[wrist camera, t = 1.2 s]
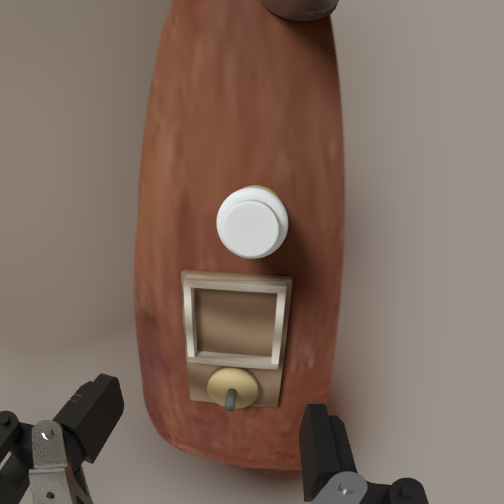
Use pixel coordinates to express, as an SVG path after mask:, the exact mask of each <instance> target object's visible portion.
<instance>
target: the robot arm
mask: <svg viewBox="0 0 504 504" xmlns="http://www.w3.org/2000/svg"><path fill="white" fill-rule="evenodd" d="M338 1H339V0H261V2H262V4H263V5H264V6H265V7H266V8H267V9H268V10H269V11H271V12H272V13H274V14H276V15H278V16H280V17H283V18H285V19H289V20H294V21H303V22H305V21H315V20H320V19H322V18H325V17H327V16H328V15H330V14H331V13H332V12H333V11H334V10H335V8H336V6H337V3H338ZM123 410H124V401H123V397H122V394H121V389H120V384H119V380H118V378H116V377H113V376H109V375H106V374H100V375H99V376H98V377H97V378H96V379H95V380H94V382H92V381H89V382H88V383H86V384H84V385H82V386H81V387H80V388H79V389H78V390H77V391H76V393H75V395H73V396H72V397H71V398H70V400H69V401H68V402H67V403H66V404H65V405H64V407H63V408H62V409H61V410H60V411H59V413H58V414H57V415H56V417H54V419H53V420H42V421H39V422H37V423H36V424H35V425H30V424H26V423H21V422H19V420H18V418H17V416H16V415H15V414H14V413H13V412H10V411H2V412H0V463H1V462H2V460H3V459H4V458H5V456H6V455H7V453H8V452H10V453H11V456H10V457H9V459H8V460H7V461H6V463H5V464H4V466H3V467H2V468H1V470H0V504H19V503H20V501H21V499H22V497H23V496H24V494H25V492H26V490H27V488H28V487H29V485H30V487H31V494H32V500H33V504H94V503H93V501H92V499H91V496H90V493H89V490H88V486H87V483H86V479H85V476H84V472H83V468H82V466H81V464H82V463H83V461H87V462H89V463H92V464H93V463H94V461H95V460H96V458H97V456H98V454H99V452H100V451H101V449H102V448H103V446H104V444H105V442H106V441H107V439H108V437H109V436H110V434H111V432H112V430H113V429H114V427H115V426H116V424H117V422H118V420H119V419H120V417H121V416H122V413H123ZM346 434H347V433H346V429H345V425H344V423H343V422H342V421H341V420H340V419H339V417H338V416H328V412H327V407H326V405H325V404H307V405H306V408H305V412H304V416H303V419H302V423H301V427H300V433H299V444H300V455H301V466H302V478H303V490H304V501H305V502H311V501H312V502H311V503H310V504H429V503H428V500H427V497H426V494H425V491H424V488H423V486H422V484H421V483H420V482H418V481H417V480H415V479H412V478H401V479H399V480H397V481H395V482H394V483H393V484H392V485H385V484H375V483H370V482H368V481H366V480H365V479H364V478H363V477H362V476H361V475H359V474H358V472H357V470H356V467H355V463H354V459H353V455H352V452H351V448H350V444H349V440H348V437H347V435H346Z"/></svg>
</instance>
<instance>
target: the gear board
mask: <svg viewBox="0 0 504 504" xmlns="http://www.w3.org/2000/svg"><path fill="white" fill-rule="evenodd" d="M291 289H292V276H274V275H257V274H240V273H224V272H209V271H195V270H183V271H182V272H181V291H182V309H183V324H184V338H185V350H186V361H187V371H188V380H189V389H190V398H191V400H197V401H204V402H212V403H217V404H219V405H221V406H224V408H225V410H227V411H233V410H234V408H243V407H247V406H256V407H277V405H278V398H279V391H280V384H281V377H282V369H283V361H284V353H285V345H286V336H287V328H288V318H289V309H290V299H291Z"/></svg>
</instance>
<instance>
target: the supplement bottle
mask: <svg viewBox="0 0 504 504" xmlns="http://www.w3.org/2000/svg"><path fill="white" fill-rule="evenodd" d="M217 230H218V234H219V237H220V239H221V241H222V242H223V244H224V245H225V246H226V247H227V248H228V249H229V250H230V251H231V252H233V253H234V254H236V255H238V256H241V257H244V258H250V259H255V258H262V257H265V256H267V255H269V254H271V253H273V252H274V251H275V250H277V249H278V248H279V247H280V245H281V244H282V243H283V241H284V239H285V237H286V234H287V231H288V216H287V212H286V210H285V207H284V205H283V204H282V202H281V200H280V198H279V197H278V195H277V194H276V193H275V192H274V191H272V190H271V189H269V188H267V187H264V186H260V185H252V186H248V187H245V188H242V189H240V190H238V191H236V192H234V193H233V194H231V195H230V196H229V197H228V198H227V199H226V200H225V201H224V202H223V204H222V205H221V207H220V209H219V212H218V215H217Z"/></svg>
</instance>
